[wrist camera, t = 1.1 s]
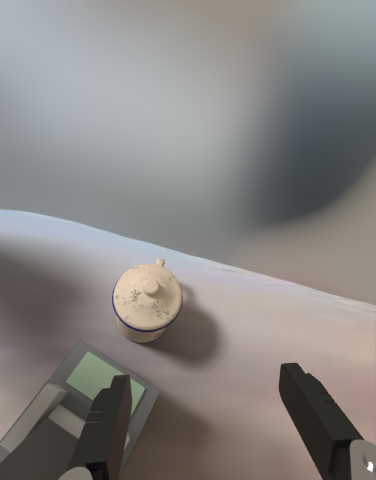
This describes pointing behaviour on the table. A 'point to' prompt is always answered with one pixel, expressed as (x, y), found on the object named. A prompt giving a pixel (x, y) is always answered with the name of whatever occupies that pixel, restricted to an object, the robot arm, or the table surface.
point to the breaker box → (82, 397)
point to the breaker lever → (45, 449)
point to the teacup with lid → (146, 301)
